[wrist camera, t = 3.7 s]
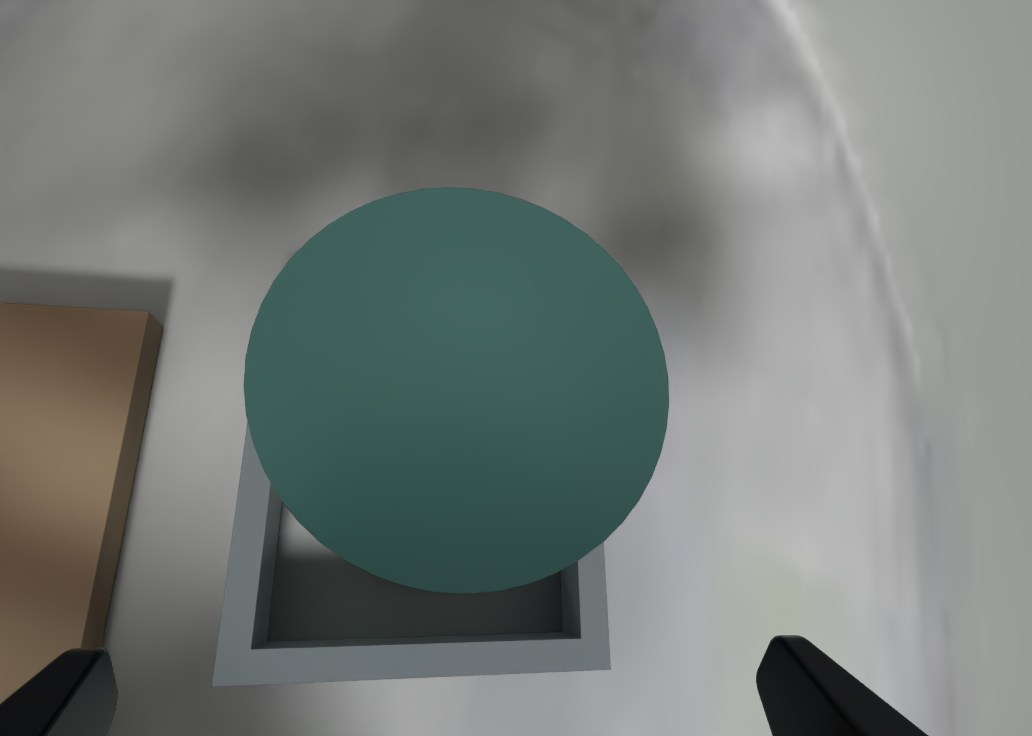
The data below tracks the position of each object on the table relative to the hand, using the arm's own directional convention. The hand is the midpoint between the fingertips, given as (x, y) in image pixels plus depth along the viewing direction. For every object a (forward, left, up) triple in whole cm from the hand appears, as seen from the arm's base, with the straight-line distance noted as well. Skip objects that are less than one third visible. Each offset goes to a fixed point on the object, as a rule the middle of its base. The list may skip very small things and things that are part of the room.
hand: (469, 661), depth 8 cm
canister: (+4, 0, -10) cm, 11 cm away
